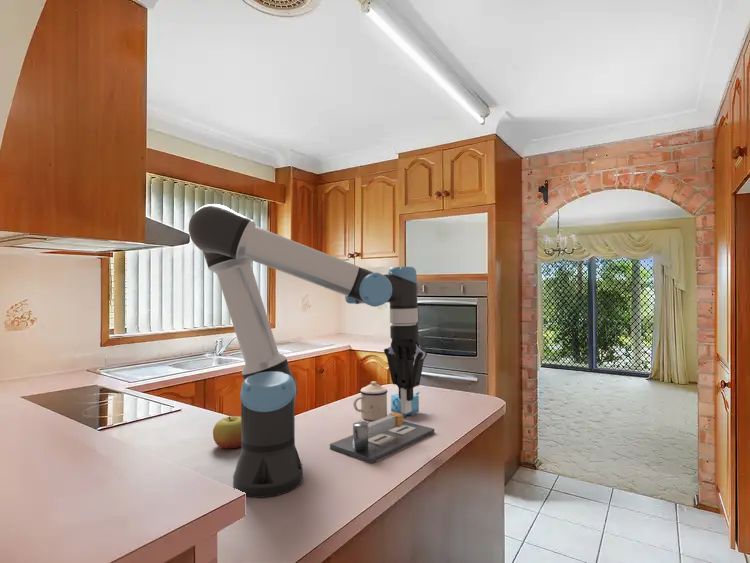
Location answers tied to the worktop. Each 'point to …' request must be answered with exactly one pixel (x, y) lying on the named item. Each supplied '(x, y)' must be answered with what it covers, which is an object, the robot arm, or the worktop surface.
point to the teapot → (397, 404)
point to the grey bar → (374, 429)
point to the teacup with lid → (372, 402)
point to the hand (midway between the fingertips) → (406, 411)
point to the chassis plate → (384, 442)
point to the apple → (228, 432)
